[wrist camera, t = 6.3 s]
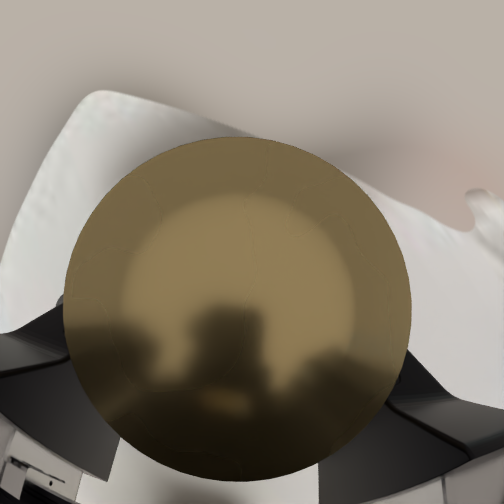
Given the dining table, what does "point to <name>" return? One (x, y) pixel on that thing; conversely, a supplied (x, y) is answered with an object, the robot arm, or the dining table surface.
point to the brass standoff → (237, 309)
